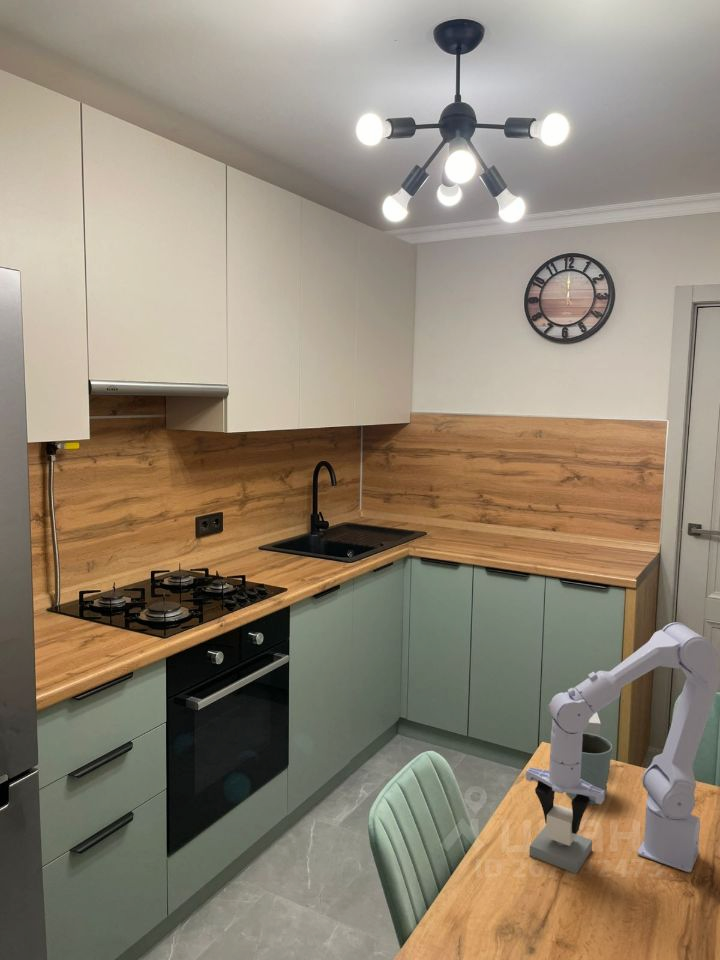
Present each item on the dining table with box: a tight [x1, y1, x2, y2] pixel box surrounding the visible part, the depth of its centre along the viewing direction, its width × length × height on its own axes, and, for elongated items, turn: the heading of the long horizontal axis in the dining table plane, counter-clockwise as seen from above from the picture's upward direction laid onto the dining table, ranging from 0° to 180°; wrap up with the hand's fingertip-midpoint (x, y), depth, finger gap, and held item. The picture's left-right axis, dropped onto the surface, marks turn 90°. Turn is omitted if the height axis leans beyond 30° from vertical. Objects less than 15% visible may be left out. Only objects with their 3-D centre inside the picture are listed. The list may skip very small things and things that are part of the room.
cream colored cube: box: [545, 804, 579, 846], centre depth 138 cm, size 5×5×4 cm
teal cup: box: [565, 733, 613, 806], centre depth 159 cm, size 10×10×12 cm
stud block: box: [529, 825, 593, 875], centre depth 138 cm, size 9×9×4 cm
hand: (561, 826), depth 138 cm, fingers closed on cream colored cube, 4 cm apart
